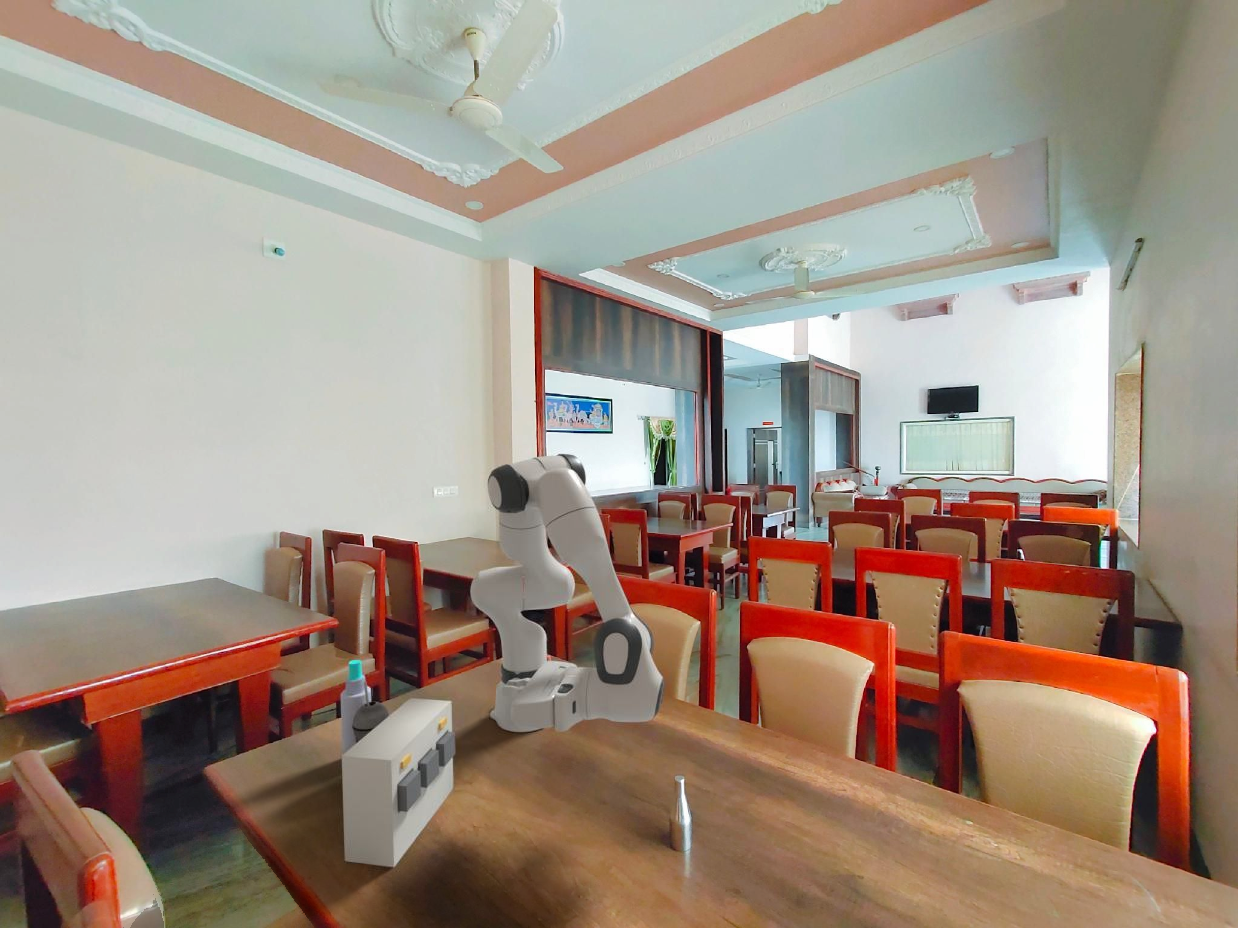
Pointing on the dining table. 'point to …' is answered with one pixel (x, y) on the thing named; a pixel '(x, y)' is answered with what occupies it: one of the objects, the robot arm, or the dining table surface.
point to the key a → (409, 790)
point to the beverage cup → (368, 717)
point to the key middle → (429, 767)
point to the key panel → (392, 782)
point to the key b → (446, 748)
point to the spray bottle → (352, 702)
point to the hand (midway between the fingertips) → (505, 687)
